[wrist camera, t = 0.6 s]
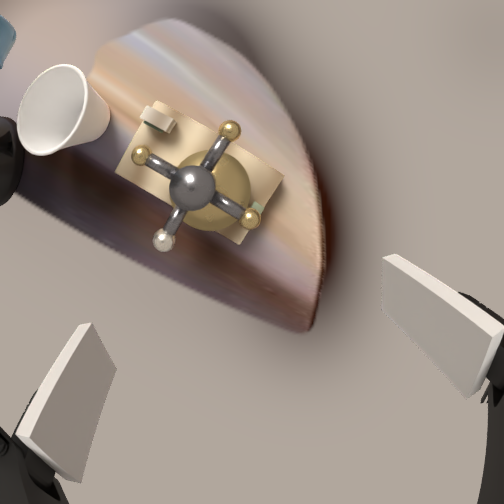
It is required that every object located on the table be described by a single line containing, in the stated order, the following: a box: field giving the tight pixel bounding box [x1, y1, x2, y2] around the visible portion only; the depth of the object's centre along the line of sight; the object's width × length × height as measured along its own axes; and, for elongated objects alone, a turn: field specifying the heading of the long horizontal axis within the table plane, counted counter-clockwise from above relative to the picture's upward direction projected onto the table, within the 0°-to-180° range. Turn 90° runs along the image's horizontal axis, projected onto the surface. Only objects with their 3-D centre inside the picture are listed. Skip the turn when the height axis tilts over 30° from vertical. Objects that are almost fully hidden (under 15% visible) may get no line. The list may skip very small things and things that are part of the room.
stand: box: [115, 100, 284, 245], centre depth 31 cm, size 18×10×5 cm, turn 57°
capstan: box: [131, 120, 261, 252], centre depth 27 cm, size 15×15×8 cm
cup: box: [17, 64, 110, 156], centre depth 24 cm, size 10×10×11 cm
